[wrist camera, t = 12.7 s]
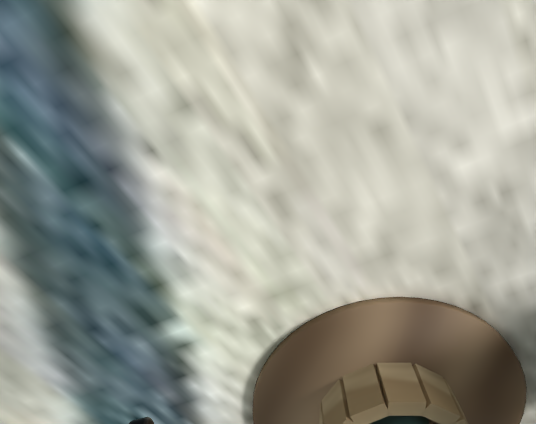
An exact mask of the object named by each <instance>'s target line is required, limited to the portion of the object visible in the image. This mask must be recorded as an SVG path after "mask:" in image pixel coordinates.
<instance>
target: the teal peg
mask: <svg viewBox="0 0 536 424" xmlns="http://www.w3.org/2000/svg"><path fill="white" fill-rule="evenodd" d="M370 424H430V423H429V420H428V418H426V417H423V416H387V417H385V418H382V419H380V420H377V421H375V422H372V423H370Z"/></svg>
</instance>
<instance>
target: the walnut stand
mask: <svg viewBox="0 0 536 424" xmlns="http://www.w3.org/2000/svg"><path fill="white" fill-rule="evenodd" d="M525 404H526V382H525V376H524V373H523V370H522V367H521V364H520V362H519V360H518V359H517V357H516V355H515V353H514V352H513V350H512V349H511V347H510V346H509V344H508V343H507V342H506V341H505V339H504V338H503V337H502V336H501V335H500V334H499V333H498V331H496V330H495V329H494V328H493V327H492V326H490V325H489V324H488V323H487V322H485V321H484V320H482V319H480V318H479V317H477V316H476V315H474V314H472V313H470V312H468V311H466V310H463V309H461V308H459V307H456V306H453V305H450V304H446V303H443V302H439V301H434V300H428V299H422V298H409V297H391V298H377V299H371V300H365V301H360V302H356V303H352V304H349V305H345V306H342V307H339V308H336V309H334V310H331V311H329V312H326V313H324V314H322V315H320V316H318V317H316V318H314V319H312V320H311V321H309V322H307V323H305V324H304V325H302V326H301V327H300V328H298V329H297V330H295V331H294V332H292V333H291V334H290V335H289V336H288V337H287V338H286V339H285V340H284V341H282V342H281V343H280V344H279V345H278V347H277V348H276V349H275V350H274V351H273V353H272V354H271V355H270V356H269V358H268V360H267V361H266V363H265V364H264V366H263V368H262V370H261V372H260V374H259V377H258V379H257V382H256V386H255V391H254V397H253V421H254V424H370V423H372V422H375V421H377V420H380V419H382V418H385V417H387V416H423V417H426V418H428V420H429V423H430V424H520V421H521V419H522V416H523V413H524V408H525Z"/></svg>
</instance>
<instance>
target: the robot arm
mask: <svg viewBox="0 0 536 424" xmlns="http://www.w3.org/2000/svg"><path fill="white" fill-rule="evenodd" d="M129 424H154V422H153V421H152V419H151V418H149V417H144V418H140V419H136V420H133V421H131V422H130V423H129Z"/></svg>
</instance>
